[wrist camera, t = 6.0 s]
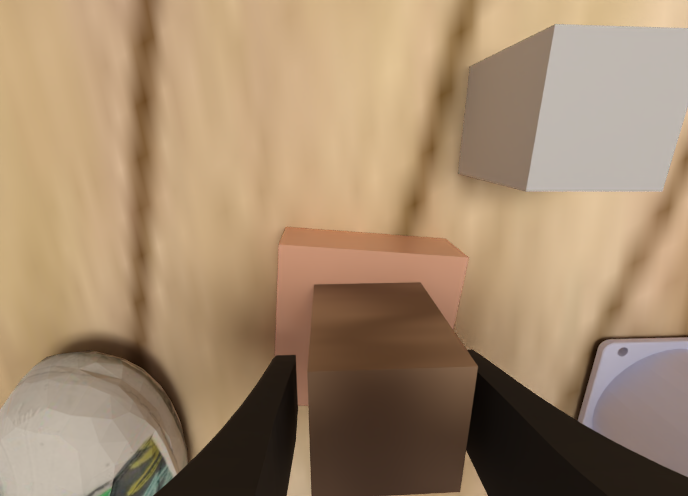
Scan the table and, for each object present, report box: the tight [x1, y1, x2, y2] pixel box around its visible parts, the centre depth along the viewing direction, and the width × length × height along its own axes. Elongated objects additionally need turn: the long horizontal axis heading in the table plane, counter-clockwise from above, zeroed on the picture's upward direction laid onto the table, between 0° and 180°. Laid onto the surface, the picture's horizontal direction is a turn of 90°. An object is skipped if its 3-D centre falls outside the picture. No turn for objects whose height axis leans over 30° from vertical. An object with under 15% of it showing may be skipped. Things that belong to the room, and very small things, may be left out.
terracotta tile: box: [275, 227, 469, 406], centre depth 15 cm, size 7×7×3 cm
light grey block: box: [458, 24, 688, 191], centre depth 11 cm, size 4×4×5 cm
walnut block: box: [307, 282, 478, 496], centre depth 11 cm, size 4×4×5 cm
